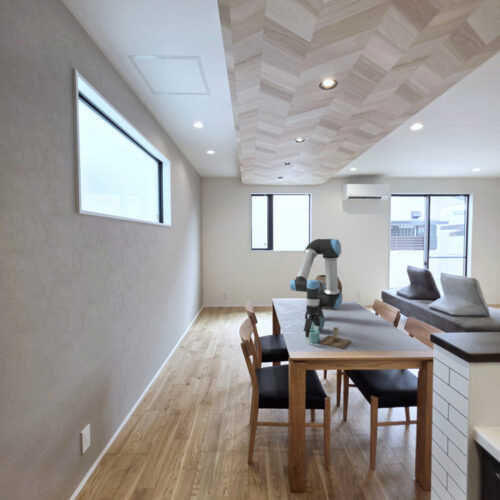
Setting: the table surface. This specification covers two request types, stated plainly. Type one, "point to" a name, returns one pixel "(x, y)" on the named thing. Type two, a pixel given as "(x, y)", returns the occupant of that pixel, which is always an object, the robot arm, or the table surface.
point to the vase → (323, 279)
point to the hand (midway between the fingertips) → (312, 339)
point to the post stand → (335, 340)
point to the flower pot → (320, 324)
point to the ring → (314, 336)
